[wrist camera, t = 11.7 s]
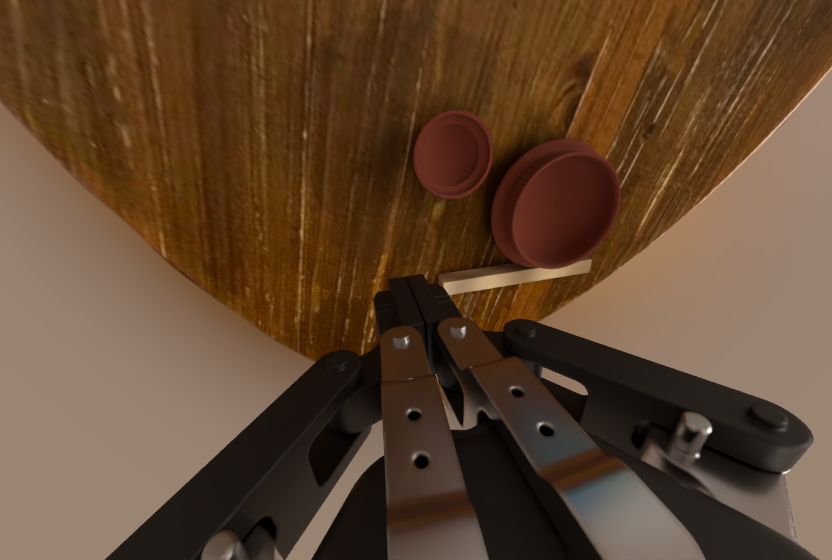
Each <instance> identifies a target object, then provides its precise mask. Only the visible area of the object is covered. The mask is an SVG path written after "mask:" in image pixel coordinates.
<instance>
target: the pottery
mask: <svg viewBox="0 0 832 560" xmlns="http://www.w3.org/2000/svg"><path fill="white" fill-rule="evenodd" d="M492 160H493V142H492V138H491V135H490V133H489V130H488V129H487V127H486V125H485V124H484V123H483V122H482V120H481V119H479V118H478V117H477V116H476V115H474V114H472V113H470V112H468V111H464V110H448V111H444V112H442V113H439V114H437V115H436V116H434V117H433V118H431V119H430V120H429V121H428V122H427V123H426V124H425V125H424V127H423V128H422V130H421V131H420V133H419V135H418V137H417V139H416V142H415V146H414V151H413V164H414V169H415V173H416V175H417V178H418V179H419V181H420V183H421V184H422V186H423V187H424V188H425V189H426V190H427V191H428V192H430V193H431V194H433V195H435V196H437V197H440V198H443V199H457V198H461V197H464V196H466V195H468V194H470V193H472V192H473V191H475V190H476V189H477V188H478V187H479V186H480V185H481V184H482V183H483V181H484V180H485V178H486V177H487V175H488V173H489V170H490V168H491V164H492ZM620 198H621V190H620V182H619V179H618V176H617V173H616V171H615V169H614V168H613V166H612V165H611V164H610V163H609V162H608V161H607V160H606V159H605V158H603V157H602V156H600V155H599V154H598V153H597V152H596V151H595V150H594V149H593V148H592V147H590V146H589V145H587V144H585V143H583V142H581V141H578V140H573V139H556V140H551V141H548V142H545V143H542V144H540V145H538V146H536V147H534V148H532V149H531V150H529V151H528V152H526V153H525V154H524V155H523V156H521V157H520V158H519V159H518V160H517V161H516V162H515V163H514V164H513V165H512V166H511V168H510V169H509V170H508V171H507V173H506V174H505V176H504V177H503V179H502V181H501V182H500V184H499V186H498V189H497V191H496V194H495V197H494V200H493V204H492V210H491V228H492V233H493V237H494V240H495V242H496V244H497V246H498V248H499V249H500V251H501V252H502V253H503V254H504V255H505V256H506V257H507V258H508V259H510V260H511V261H513V262H514V263H517V264H519V265H522V266H526V267H538V268H543V269H559V268H563V267H567V266H570V265H572V264H575V263H577V262H579V261H580V260H582V259H584V258H585V257H586V256H588V255H589V254H590V253H592V252H593V251H594V250H595V249H596V248H597V247H598V246H599V245H600V244H601V242H602V241H603V240H604V239H605V237H606V236H607V234H608V233H609V231H610V230H611V228H612V226H613V224H614V222H615V219H616V216H617V213H618V210H619V205H620Z"/></svg>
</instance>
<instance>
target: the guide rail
mask: <svg viewBox="0 0 832 560" xmlns="http://www.w3.org/2000/svg"><path fill="white" fill-rule="evenodd" d="M591 261H592V260H591V259H590V258H588V257H585V258H584V259H582V260H580V261H579V262H577V263H575V264H572V265H570V266H567V267H563V268H559V269H543V268H538V267H526V266H522V265H519V264H517V263H510V264H503V265H497V266H490V267H483V268H477V269H470V270H464V271H457V272H450V273H444V274H438V285H440V286H442V287H443V288H445V290H446V291H447V293H448V294H449V295H453V294H459V293H465V292H471V291H477V290H483V289H490V288H496V287H502V286H508V285H514V284H520V283H526V282H533V281H539V280H545V279H551V278H557V277H563V276H569V275H576V274H582V273H588V272H589V270H590V266H591Z"/></svg>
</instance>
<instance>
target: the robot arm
mask: <svg viewBox="0 0 832 560" xmlns="http://www.w3.org/2000/svg"><path fill="white" fill-rule="evenodd" d="M388 290H389V291H382V292H377V294H376V295H375V297H374V299H373V300H374V307H375V315H376V322H377V330H378V335H379V343H378V345H377V346H376V347H375V348H374V349H373V350H372V351H370V352H368V353H366V354H364V355H362V356H358V355H357V354H356V353H354V352H352V351H349V350H338V351H334V352H331V353H328V354H326V355H324V356H323V357H321V358H320V359H319V360H318V361H317V362H316V363H315V364H314V365H313V366H311V367H310V369H309V370H307V371H306V372H305V373H304V374H303V375H302V376H301V377H300V378H299V379H298V380H297V381H296V382H294V383H293V384H292V385H291V386H290V387H289V388H288V389H287V390H286V391H285V392H284V393H283V394H282V395H280V396H279V397H278V398H277V399H276V400H275V401H274V402H273V403H272V404H271V405H270V406H269V407H268V408H267V409H266V410H265V411H263V412H262V413H261V414H260V415H259V416H258V417H257V418H256V419H255V420H254V421H253V422H252V423H251V424H250V425H248V426H247V427H246V428H245V429H244V430H243V431H242V432H241V433H240V434H239V435H238V436H237V437H236V438H235V439H233V440H232V441H231V442H230V443H229V444H228V445H227V446H226V447H225V448H224V449H223V450H222V451H221V452H219V453H218V455H216V456H215V457H214V458H213V459H212V460H211V461H210V462H209V463H208V464H207V465H206V466H205V467H204V468H202V469H201V470H200V471H199V472H198V473H197V474H196V475H195V476H194V477H193V478H192V479H191V480H190V481H189V482H188V483H186V484H185V485H184V486H183V487H182V488H181V489H180V490H179V491H178V492H177V493H176V494H175V495H174V496H172V497H171V498H170V499H169V500H168V501H167V502H166V503H165V504H164V505H163V506H162V507H161V508H160V509H159V510H157V512H155V513H154V514H153V515H152V516H151V517H150V518H149V519H148V520H147V521H146V522H145V523H144V524H143V525H141V526H140V527H139V528H138V529H137V530H136V531H135V532H134V533H133V534H132V535H131V536H130V537H129V538H128V539H127V540H125V541H124V542H123V543H122V544H121V545H120V546H119V547H118V548H117V549H116V550H115V551H114V552H113V553H112V554H110V555H109V556H108V557H107V558H106V559H105V560H285V559H286V558H287V556H288V555H289V553H290V552H291V550H292V549H293V547H294V546H295V544H296V543H297V541H298V540H299V538H300V537H301V535H302V534H303V532H304V531H305V529H306V528H307V526H308V525H309V523H310V522H311V520H312V519H313V517H314V516H315V514H316V513H317V511H318V510H319V508H320V507H321V505H322V504H323V502H324V501H325V499H326V498H327V497H328V495H329V493H330V492H331V491H332V489H333V488H334V486H335V485H336V483H337V482H338V480H339V478H340V477H341V476H342V474H343V473H344V471H345V470H346V468H347V466H348V465H349V464H350V462H351V461H352V459H353V457H354V456H355V454H356V453H357V452H358V450H359V449H360V447H361V446H362V444H363V443H364V441H365V440H366V438H367V437H368V435H369V433H370V431H371V427H372V425H373V424H375V423H377V422H378V421H380V420H383V439H384V456H382V457H381V458H379V459H378V460H377V461H376V462H374V463H373V464H372V465H371V466H370V467H369V468H368V469H367V470H366V471H365V472H364V473H363V474H362V475H361V477H360V478H359V479H358V481H357V482H356V483H355V485H354V487H353V488H352V490H351V492H350V493H349V495H348V497H347V498H346V500H345V502H344V504H343V506H342V507H341V509H340V511H339V513H338V514H337V516H336V518H335V519H334V521H333V523H332V525H331V526H330V528H329V530H328V532H327V533H326V535H325V537H324V538H323V540H322V542H321V544H320V545H319V547H318V549H317V551H316V552H315V554H314V556H313V557H312V559H311V560H819V559H818V558H816V557H815V556H814V555H812V554H811V553H809V552H808V551H807V550H806V549H804V548H802V547H801V546H800V545H798V542H797V537H796V532H795V527H794V522H793V517H792V512H791V507H790V502H789V497H788V491H787V487H786V482H785V476H786V474H787V473H788V472H789V471H790V469H791V468H792V467H793V466H794V465H795V464H796V462H797V461H798V460H799V459H800V457H801V456H802V455H803V454H804V453H805V452H806V450H807V449H808V448H809V447H810V446H811V445H812V443H813V435H812V433H811V431H810V429H808V427H807V426H806V425H805V424H804V423H803V422H802V421H801V420H800V419H798V418H797V417H796V416H795V415H793V414H792V413H790V412H789V411H787V410H785V409H784V408H782V407H780V406H778V405H776V404H774V403H771V402H769V401H766V400H764V399H761V398H758V397H755V396H752V395H749V394H746V393H743V392H740V391H738V390H735V389H731V388H729V387H726V386H723V385H720V384H717V383H714V382H711V381H708V380H705V379H702V378H699V377H696V376H693V375H690V374H687V373H684V372H681V371H679V370H675V369H673V368H670V367H667V366H664V365H661V364H658V363H655V362H652V361H649V360H646V359H643V358H640V357H637V356H634V355H632V354H629V353H626V352H623V351H620V350H617V349H614V348H611V347H608V346H605V345H602V344H599V343H596V342H593V341H590V340H587V339H584V338H582V337H578V336H576V335H573V334H570V333H567V332H564V331H561V330H558V329H555V328H552V327H549V326H546V325H543V324H540V323H537V322H534V321H531V320H526V319H516V320H512V321H509V322H507V323H506V324H505V326H504V330H503V332H493V331H483V330H481V329H480V328H479V327H478V326H477V324H476V323H475V322H473V321H472V320H470V319H467V318H463V317H462V315H461V313H460V312H459V310H458V309H457V307H456V306H455V304H454V302H453V301H452V299H451V298H450V296H449V294H448V293H447V291H446V290H445V288H443V287H442V286H440V285H438V284H437V283H435V284H428V283H427V281H426V279H425V277H424V275H423V274H419V275H412V276H406V277H399V278H392V279H388ZM543 367H545V368H547V369H549V370H552V371H554V372H556V373H559V374H561V375H564V376H566V377H568V378H571V379H573V380H576V381H578V382H579V383H581V384H582V385H584V386H585V388H586V389H587V391H588V395H581V394H578V393H576V392H574V391H571V390H569V389H567V388H564V387H562V386H560V385H558V384H555V383H553V382H551V381H548V380H546V379H544V378H542V377H541V374H542V368H543ZM435 374H437V376H438V382H439V386H438V382H437V379H436V376H435ZM442 399H443V401H444V403H445V405H446V407H447V409H448V411H449V413H450V416H451V418H452V420H453V422H454V424H455V426H456V428H457V430H450V427H449V423H448V420H447V416H446V412H445V409H444V405H443V401H442Z"/></svg>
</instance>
